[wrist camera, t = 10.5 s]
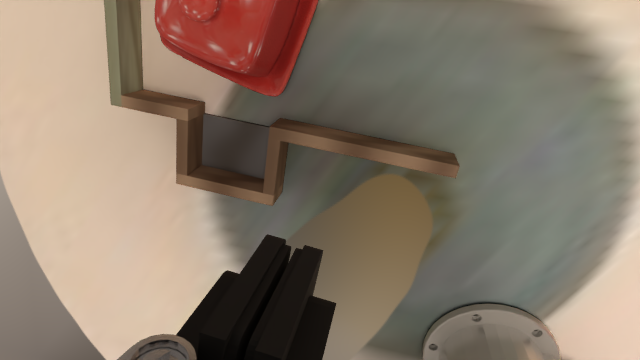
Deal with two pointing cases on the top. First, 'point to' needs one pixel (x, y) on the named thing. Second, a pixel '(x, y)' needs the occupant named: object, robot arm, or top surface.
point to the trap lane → (237, 129)
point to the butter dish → (238, 37)
